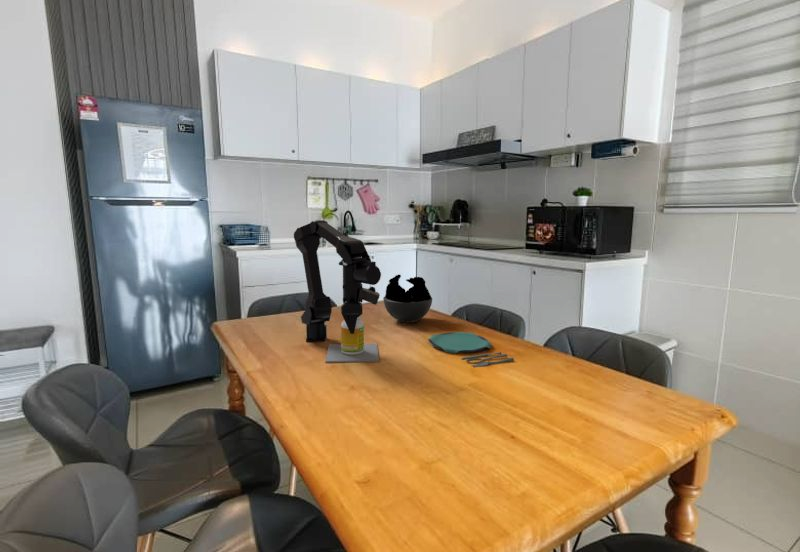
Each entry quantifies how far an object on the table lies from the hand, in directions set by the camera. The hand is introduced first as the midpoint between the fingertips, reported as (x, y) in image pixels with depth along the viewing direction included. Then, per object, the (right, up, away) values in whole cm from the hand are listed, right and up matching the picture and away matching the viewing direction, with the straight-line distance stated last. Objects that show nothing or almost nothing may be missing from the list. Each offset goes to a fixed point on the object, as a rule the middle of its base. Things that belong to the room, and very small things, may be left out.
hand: (352, 329), depth 134 cm
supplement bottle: (0, -7, +1) cm, 8 cm away
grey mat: (0, -8, +1) cm, 8 cm away
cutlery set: (+37, -8, +6) cm, 38 cm away
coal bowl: (+18, -2, +41) cm, 45 cm away
